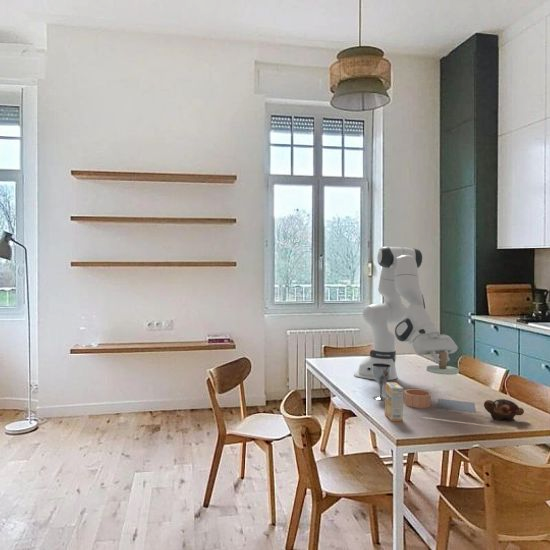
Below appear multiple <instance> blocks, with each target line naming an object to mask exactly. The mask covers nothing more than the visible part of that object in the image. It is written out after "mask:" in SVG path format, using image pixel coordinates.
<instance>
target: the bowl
mask: <svg viewBox="0 0 550 550" xmlns="http://www.w3.org/2000/svg"><path fill="white" fill-rule="evenodd" d="M403 405H405V406H407V407H410V408H411V407H412V408H418V409H426V408H430V407H431V405H432V393H431V392H430V391H429V390H424V389H417V388H409V389H403Z"/></svg>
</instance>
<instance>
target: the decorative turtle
mask: <svg viewBox="0 0 550 550" xmlns="http://www.w3.org/2000/svg"><path fill="white" fill-rule="evenodd" d="M483 408H484V409H485V410H486V412H488V413H489V414H490V416H491V417H493V418H494V419H495V420H496V421H498V422H500V421H503V420H504V419H505V420H506V421H508V422H513V420H514V419H515V417H516V416H522V415H524V412H525V410H524V408H522V407H519V405H518V404H517V403H515V402H513V401H512V400H510V399H504V398H500V399H499V398H498V399H496V400H492V399H487V400H485V401H484V403H483Z"/></svg>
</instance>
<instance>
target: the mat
mask: <svg viewBox="0 0 550 550" xmlns="http://www.w3.org/2000/svg"><path fill="white" fill-rule="evenodd" d="M475 404H476V403H475V402H471V401H462V400H461V401H460V400H454V399H446V398H445V399H443V398H438V399H437V402H436V409H443V410H451V411H457V412H466V413H467V412H468V413H476V405H475Z"/></svg>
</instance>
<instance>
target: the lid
mask: <svg viewBox="0 0 550 550" xmlns="http://www.w3.org/2000/svg"><path fill="white" fill-rule="evenodd" d="M438 355H439V356H438V357H441V359H442V361H441V362H438V365H427V366H426V371H427V372H429V373H431V374H437V375H445V376H446V375H447V376H449V375H458V374H459V373H460V369H459V368H457V367H454V366H449V365H447V363H448V362H447V352H439V354H438Z"/></svg>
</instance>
